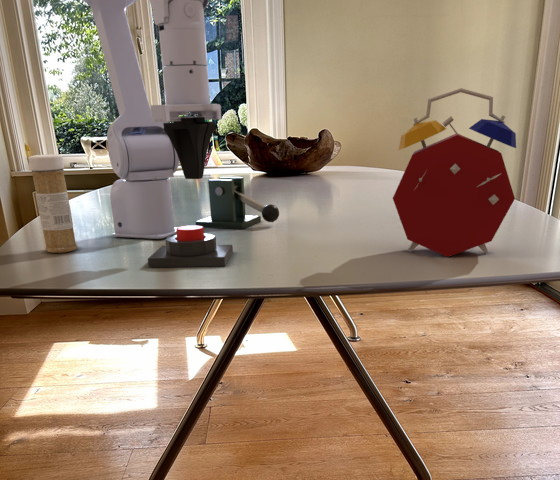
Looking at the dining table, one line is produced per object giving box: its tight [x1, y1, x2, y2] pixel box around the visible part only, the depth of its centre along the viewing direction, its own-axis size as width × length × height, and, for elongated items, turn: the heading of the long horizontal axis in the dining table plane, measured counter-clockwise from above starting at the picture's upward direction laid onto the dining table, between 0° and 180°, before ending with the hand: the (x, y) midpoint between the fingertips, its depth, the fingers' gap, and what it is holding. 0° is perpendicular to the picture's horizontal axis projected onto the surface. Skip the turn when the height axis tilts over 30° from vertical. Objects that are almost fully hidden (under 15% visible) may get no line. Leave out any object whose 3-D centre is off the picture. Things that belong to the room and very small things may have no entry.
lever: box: [222, 179, 280, 223], centre depth 103 cm, size 12×3×3 cm, turn 68°
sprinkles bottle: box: [27, 153, 78, 254], centre depth 86 cm, size 5×5×14 cm
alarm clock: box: [392, 87, 517, 258], centre depth 75 cm, size 15×9×20 cm, turn 76°
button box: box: [147, 233, 234, 268], centre depth 80 cm, size 10×8×3 cm
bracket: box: [195, 176, 262, 230], centre depth 105 cm, size 9×8×8 cm
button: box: [175, 224, 205, 241], centre depth 79 cm, size 4×4×2 cm
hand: (194, 178), depth 81 cm, fingers closed
